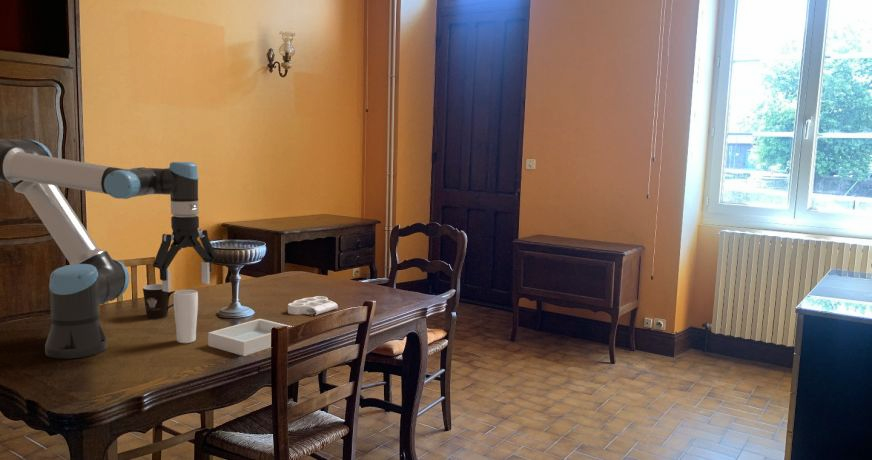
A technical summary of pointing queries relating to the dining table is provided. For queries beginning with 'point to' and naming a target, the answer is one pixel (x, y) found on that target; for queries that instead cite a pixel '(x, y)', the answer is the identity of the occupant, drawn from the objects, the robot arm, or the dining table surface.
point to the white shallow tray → (244, 337)
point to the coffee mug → (156, 301)
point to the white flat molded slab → (311, 306)
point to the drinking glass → (186, 315)
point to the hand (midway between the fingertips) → (186, 287)
